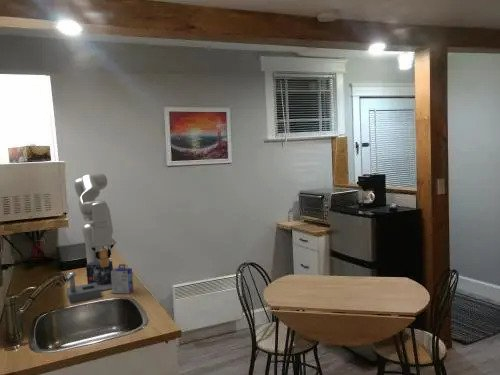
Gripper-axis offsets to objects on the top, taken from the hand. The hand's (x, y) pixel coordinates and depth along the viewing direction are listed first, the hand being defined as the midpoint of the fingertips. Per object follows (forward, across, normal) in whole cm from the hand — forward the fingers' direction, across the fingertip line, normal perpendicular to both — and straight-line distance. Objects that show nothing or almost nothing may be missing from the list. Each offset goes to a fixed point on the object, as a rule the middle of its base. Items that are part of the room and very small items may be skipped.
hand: (103, 257), depth 242 cm
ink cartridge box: (+17, +6, -13) cm, 22 cm away
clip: (+5, -19, -12) cm, 23 cm away
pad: (+17, 0, 0) cm, 17 cm away
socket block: (+17, -12, -7) cm, 22 cm away
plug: (+5, 0, 0) cm, 5 cm away
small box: (+17, -1, +11) cm, 21 cm away
